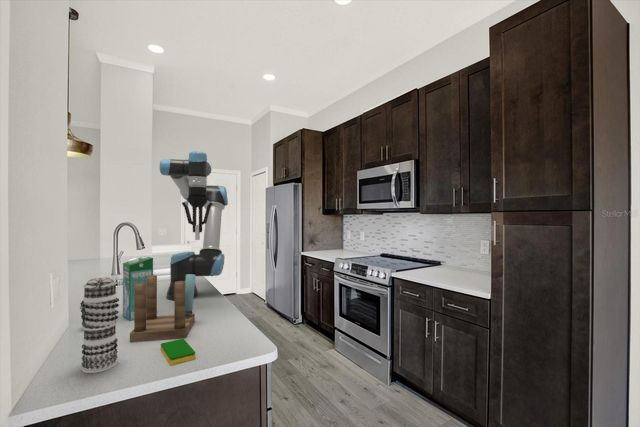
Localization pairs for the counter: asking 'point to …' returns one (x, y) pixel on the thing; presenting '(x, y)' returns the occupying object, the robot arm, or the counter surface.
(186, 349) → the dish sponge
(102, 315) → the decorative candle
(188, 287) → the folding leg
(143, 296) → the walnut stool
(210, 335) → the counter surface
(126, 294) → the milk carton
